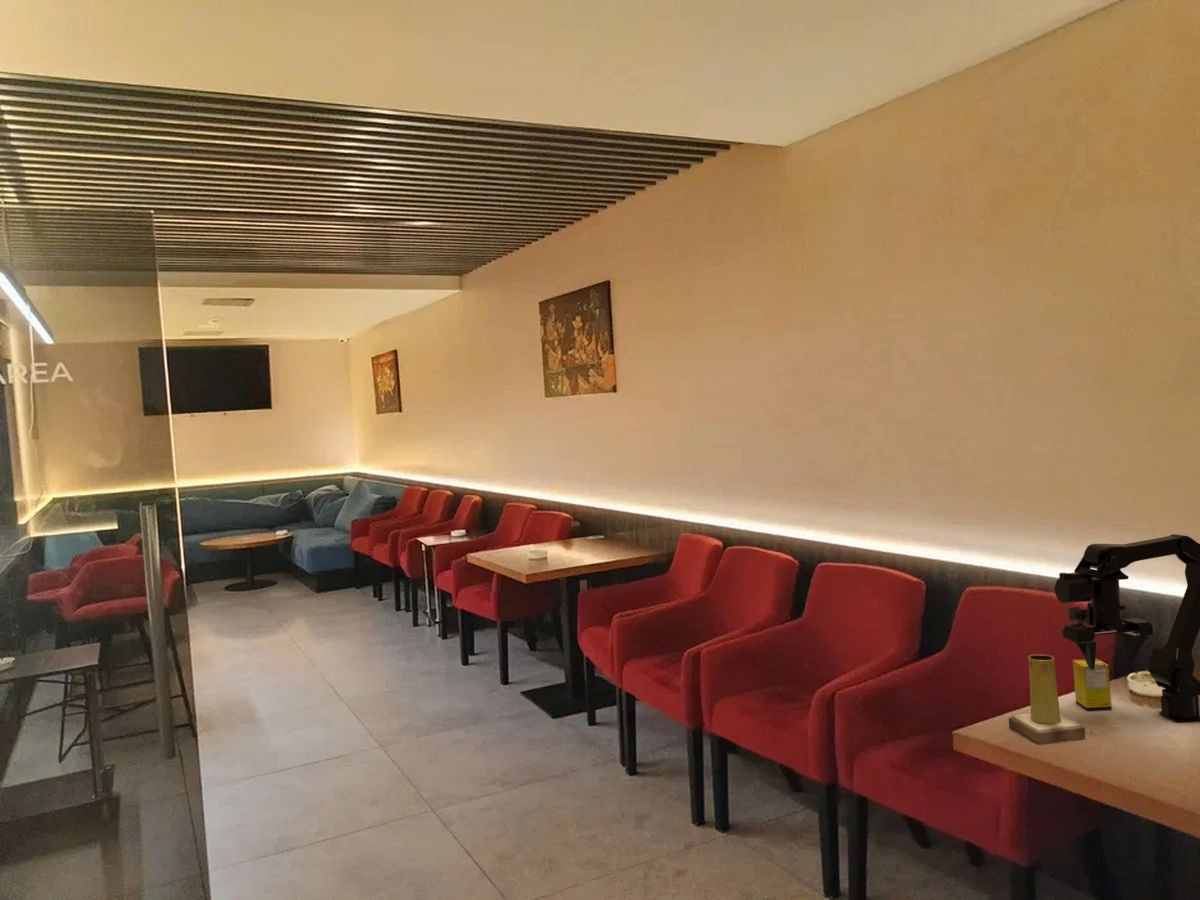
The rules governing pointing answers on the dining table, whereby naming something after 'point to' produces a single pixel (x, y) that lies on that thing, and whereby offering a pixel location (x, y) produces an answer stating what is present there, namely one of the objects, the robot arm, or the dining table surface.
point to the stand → (1046, 729)
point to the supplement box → (1092, 685)
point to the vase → (1043, 689)
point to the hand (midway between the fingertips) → (1110, 667)
